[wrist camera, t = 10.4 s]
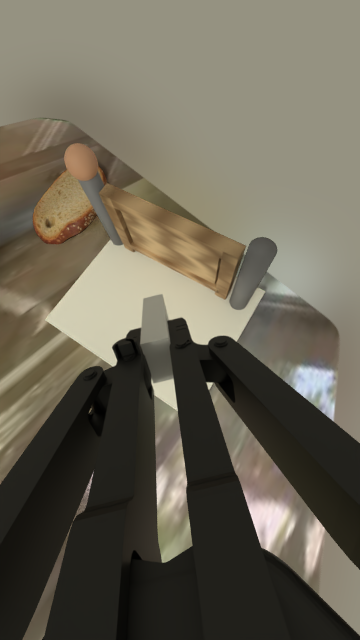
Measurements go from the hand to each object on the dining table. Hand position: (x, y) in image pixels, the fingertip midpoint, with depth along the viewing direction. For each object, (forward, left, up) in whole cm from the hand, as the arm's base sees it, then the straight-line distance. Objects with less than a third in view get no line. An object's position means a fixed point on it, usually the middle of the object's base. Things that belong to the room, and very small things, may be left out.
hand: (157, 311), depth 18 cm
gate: (-8, +13, -19) cm, 24 cm away
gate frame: (-8, +5, -21) cm, 23 cm away
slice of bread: (-37, +16, -21) cm, 46 cm away
